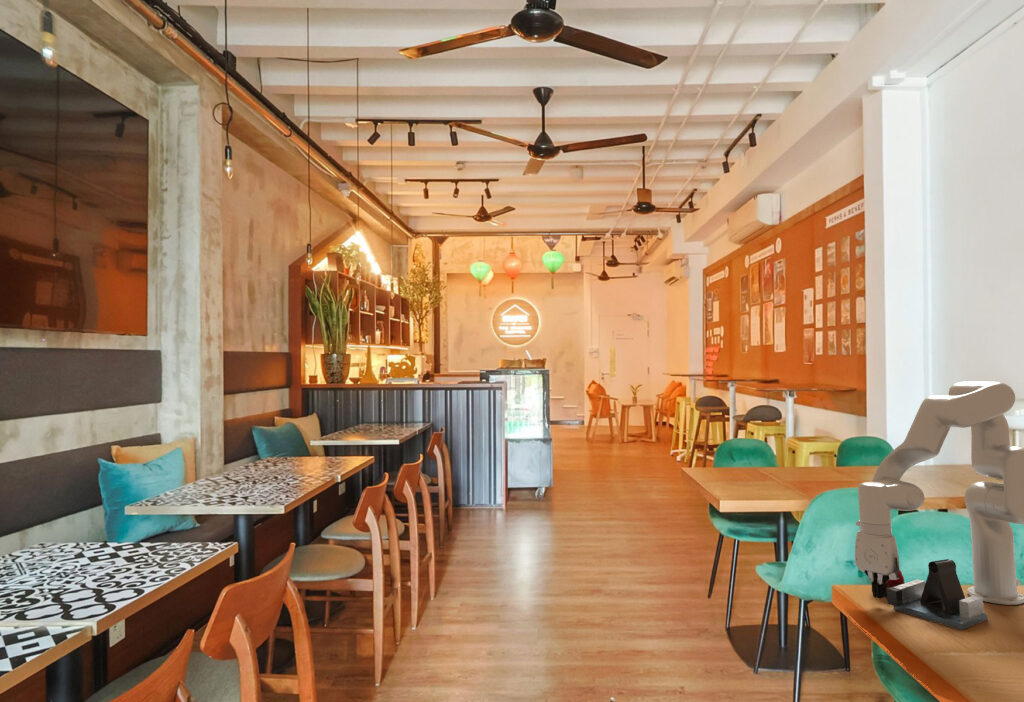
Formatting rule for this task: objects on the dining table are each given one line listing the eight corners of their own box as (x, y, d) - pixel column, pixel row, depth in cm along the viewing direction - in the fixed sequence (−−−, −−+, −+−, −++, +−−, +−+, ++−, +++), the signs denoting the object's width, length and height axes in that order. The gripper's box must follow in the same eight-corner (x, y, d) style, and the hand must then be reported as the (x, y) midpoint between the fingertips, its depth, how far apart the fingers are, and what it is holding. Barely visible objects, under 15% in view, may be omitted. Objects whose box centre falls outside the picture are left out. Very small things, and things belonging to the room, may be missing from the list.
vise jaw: (917, 593, 176) (916, 579, 176) (926, 596, 173) (926, 581, 173) (887, 603, 169) (886, 588, 169) (897, 606, 167) (896, 591, 167)
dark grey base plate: (919, 600, 175) (918, 580, 176) (987, 619, 161) (985, 597, 161) (893, 609, 170) (892, 588, 170) (961, 630, 155) (960, 607, 155)
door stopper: (969, 611, 163) (967, 564, 163) (951, 614, 161) (949, 566, 161) (937, 599, 171) (934, 554, 172) (920, 602, 170) (917, 557, 170)
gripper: (841, 525, 177) (844, 591, 177) (895, 536, 164) (899, 608, 164) (858, 521, 181) (861, 586, 180) (911, 532, 168) (915, 602, 167)
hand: (879, 596), depth 172 cm, fingers closed
